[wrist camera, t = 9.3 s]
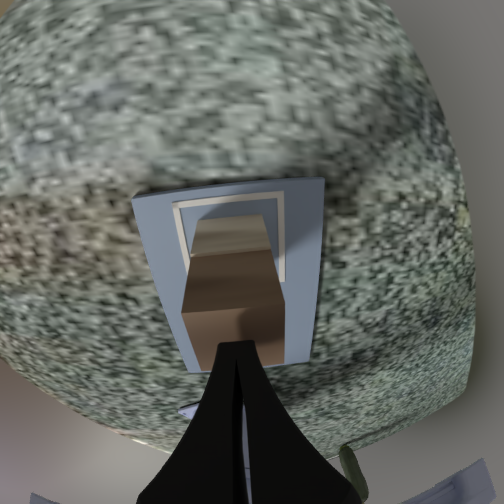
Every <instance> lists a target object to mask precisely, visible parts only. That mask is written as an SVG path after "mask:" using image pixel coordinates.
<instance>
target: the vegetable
mask: <svg viewBox="0 0 504 504" xmlns="http://www.w3.org/2000/svg"><path fill="white" fill-rule="evenodd" d="M339 458H340V462H341V466H342V468H343V470H344V473H345V477H346V479H347V480H349V481H350V482H351V484H352V485H353V486H354V488H355V489H356V491H357V492H358V494H359V496H360V498H361V500H362V504H364V502H365V501H366V500H367V498H368V494H369V492H368V487H367V483H366V480H365V478H364V476H363V474H362V472H361V470H360V467H359V465H358V461H357V459H356V456H355V454H354V453H353V450H352V449H351V448H349V446H348V445H344V446H342V447H340V451H339Z"/></svg>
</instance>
